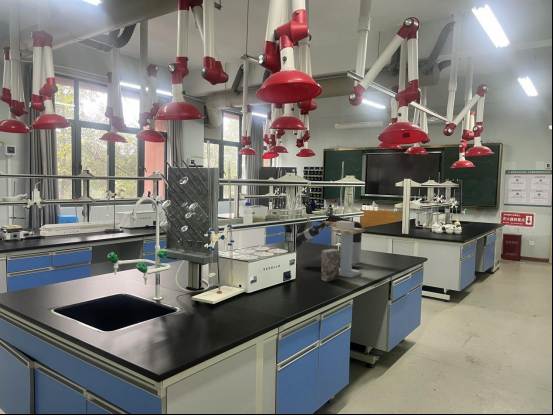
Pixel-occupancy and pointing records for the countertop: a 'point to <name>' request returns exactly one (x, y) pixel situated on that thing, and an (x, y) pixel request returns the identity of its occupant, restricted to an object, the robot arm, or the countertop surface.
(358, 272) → the shelf stand
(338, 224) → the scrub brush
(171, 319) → the countertop surface
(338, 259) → the stone block
